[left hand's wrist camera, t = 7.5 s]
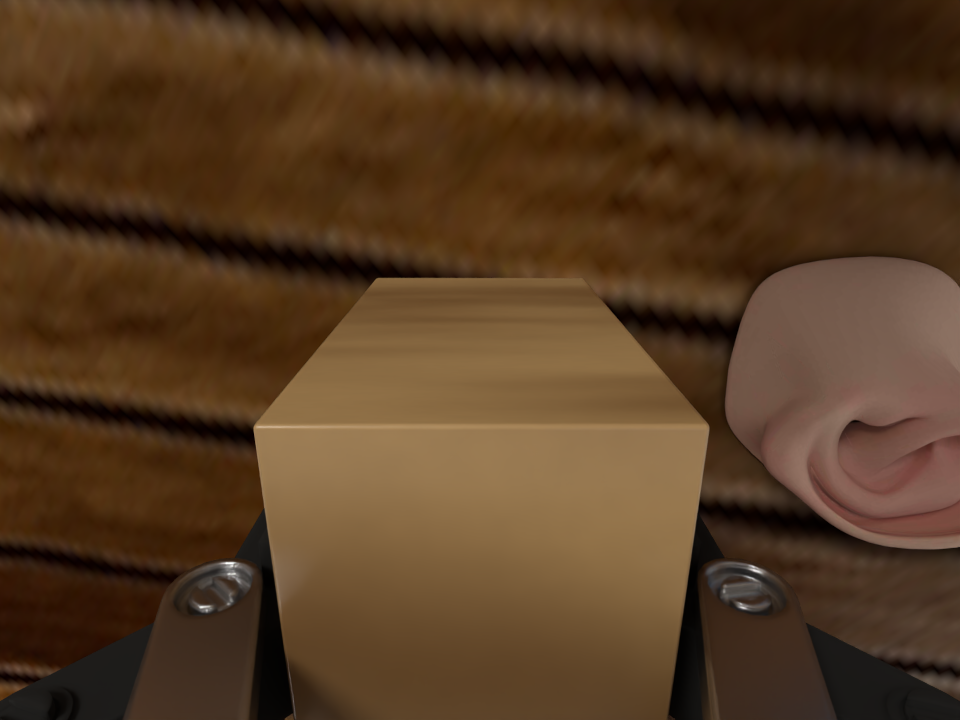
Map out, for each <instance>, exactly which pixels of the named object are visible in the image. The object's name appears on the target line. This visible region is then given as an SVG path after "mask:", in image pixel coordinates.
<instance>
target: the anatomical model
mask: <svg viewBox="0 0 960 720" xmlns="http://www.w3.org/2000/svg"><path fill="white" fill-rule="evenodd" d="M725 412H726V417H727V421H728V424H729V426H730V428H731V430H732V431H733V433H734V434H735V436H736V437H737V438H738V439H739V440H740V442H741V443H742V444H743V445H744V446H745V447H746V448H747V449H748V450H749V451H750V452H751V453H752V454H753V455H754V456H755V457H756V458H758V459H759V460H760V461H761V462H762V463H763V464H764V466H765V468H766V469H767V470H768V472H769V473H770V474H771V475H772V476H773V477H774V478H775V479H776V480H778V481H779V482H780V483H781V484H783V485H784V486H785V487H786V488H788V489H789V490H790V491H791V492H793V493H794V494H795V495H796V496H798V497H799V498H800V499H801V500H802V501H803V502H804V503H806V504H807V505H808V506H809V507H810V508H811V509H812V510H814V511H815V512H816V513H817V514H818V515H820V516H821V517H822V518H823V519H825V520H826V521H827V522H829V523H830V524H832V525H833V526H835V527H836V528H838V529H840V530H841V531H843V532H845V533H847V534H849V535H851V536H854V537H856V538H859V539H861V540H864V541H867V542H870V543H874V544H878V545H883V546H889V547H897V548H907V549H945V548H955V547H960V287H959V286H958V285H957V284H956V282H955V281H954V280H952V279H951V278H950V277H949V276H948V275H946V274H945V273H944V272H942V271H940V270H939V269H937V268H934V267H932V266H930V265H928V264H924V263H921V262H918V261H914V260H907V259H901V258H894V257H872V256H870V257H850V258H838V259H829V260H821V261H815V262H810V263H805V264H800V265H796V266H793V267H789V268H786V269H784V270H781V271H779V272H777V273H775V274H773V275H771V276H770V277H768V278H767V279H766V280H764V281H763V282H762V283H761V284H760V285H759V286H758V287H757V289H756V290H755V292H754V293H753V295H752V297H751V298H750V300H749V302H748V304H747V307H746V310H745V312H744V315H743V317H742V320H741V323H740V327H739V330H738V334H737V337H736V341H735V345H734V348H733V352H732V355H731V359H730V364H729V369H728V378H727V387H726V397H725Z"/></svg>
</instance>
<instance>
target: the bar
mask: <svg viewBox="0 0 960 720" xmlns="http://www.w3.org/2000/svg"><path fill="white" fill-rule="evenodd" d="M254 435H255V442H256V449H257V457H258V464H259V471H260V478H261V485H262V493H263V500H264V507H265V514H266V521H267V529H268V536H269V543H270V550H271V557H272V565H273V572H274V579H275V586H276V593H277V601H278V608H279V615H280V622H281V629H282V637H283V644H284V651H285V658H286V665H287V673H288V680H289V687H290V694H291V701H292V709H293V716H294V720H668V716H669V709H670V702H671V695H672V688H673V681H674V674H675V667H676V660H677V653H678V646H679V639H680V632H681V625H682V618H683V611H684V604H685V597H686V590H687V583H688V575H689V568H690V561H691V554H692V547H693V540H694V533H695V526H696V519H697V512H698V505H699V498H700V491H701V484H702V477H703V470H704V463H705V456H706V449H707V442H708V435H709V425H708V423H707V422H706V421H705V420H704V419H703V418H702V416H701V415H700V414H699V413H698V412H697V411H696V409H695V408H694V407H693V406H692V405H691V404H690V402H689V401H688V400H687V399H686V398H685V397H684V395H683V394H682V393H681V392H680V391H679V390H678V388H677V387H676V386H675V385H674V384H673V383H672V382H671V380H670V379H669V378H668V377H667V376H666V375H665V373H664V372H663V371H662V370H661V369H660V368H659V366H658V365H657V364H656V363H655V362H654V361H653V359H652V358H651V357H650V356H649V355H648V354H647V352H646V351H645V350H644V349H643V348H642V347H641V346H640V344H639V343H638V342H637V341H636V340H635V339H634V337H633V336H632V335H631V334H630V333H629V332H628V330H627V329H626V328H625V327H624V326H623V325H622V323H621V322H620V321H619V320H618V319H617V318H616V316H615V315H614V314H613V313H612V312H611V311H610V309H609V308H608V307H607V306H606V305H605V304H604V303H603V301H602V300H601V299H600V298H599V297H598V296H597V294H596V293H595V292H594V291H593V290H592V289H591V287H590V286H589V285H588V284H587V283H586V282H585V280H584V279H582V278H377V279H376V280H375V281H374V282H373V283H372V285H371V286H370V287H369V288H368V289H367V291H366V292H365V293H364V294H363V295H362V297H361V298H360V299H359V300H358V301H357V303H356V304H355V305H354V306H353V307H352V309H351V310H350V311H349V312H348V313H347V315H346V316H345V317H344V318H343V319H342V321H341V322H340V323H339V324H338V325H337V327H336V328H335V329H334V330H333V331H332V333H331V334H330V335H329V336H328V337H327V339H326V340H325V341H324V342H323V343H322V345H321V346H320V347H319V348H318V349H317V351H316V352H315V353H314V354H313V355H312V357H311V358H310V359H309V360H308V361H307V363H306V364H305V365H304V366H303V367H302V369H301V370H300V371H299V372H298V373H297V375H296V376H295V377H294V378H293V379H292V380H291V382H290V383H289V384H288V385H287V386H286V388H285V389H284V390H283V391H282V392H281V394H280V395H279V396H278V397H277V398H276V400H275V401H274V402H273V403H272V404H271V406H270V407H269V408H268V409H267V410H266V412H265V413H264V414H263V415H262V416H261V418H260V419H259V420H258V421H257V422H256V424H255V425H254Z"/></svg>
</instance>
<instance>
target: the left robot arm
mask: <svg viewBox="0 0 960 720" xmlns="http://www.w3.org/2000/svg"><path fill="white" fill-rule="evenodd" d="M292 713H293V709H292V701H291V694H290V687H289V680H288V673H287V665H286V658H285V651H284V644H283V637H282V629H281V622H280V615H279V608H278V601H277V593H276V586H275V579H274V572H273V565H272V557H271V550H270V543H269V536H268V529H267V521H266V514H265V507H264V509H263V511H262V513H261V514H260V516H259V518H258V519H257V521H256V523H255V524H254V526H253V528H252V529H251V531H250V533H249V535H248V536H247V538H246V540H245V541H244V543H243V545H242V546H241V548H240V550H239V551H238V553H237V555H236V556H235V558H224V559H217V560H213V561H209V562H205V563H203V564H201V565H198V566H196V567H194V568H191V569H190V570H188V571H187V572H185V573H184V574H182V575H181V576H179V577H178V578H177V579H176V580H175V581H174V582H173V583H172V584H171V585H170V586H169V587H168V588H167V590H166V592H165V594H164V596H163V598H162V601H161V604H160V607H159V610H158V613H157V616H156V619H155V622H154V623H152V624H150V625H148V626H146V627H144V628H142V629H140V630H138V631H136V632H134V633H132V634H130V635H128V636H126V637H124V638H122V639H120V640H118V641H116V642H114V643H112V644H110V645H108V646H106V647H104V648H102V649H100V650H99V651H97V652H95V653H93V654H91V655H89V656H87V657H85V658H83V659H81V660H79V661H77V662H75V663H73V664H71V665H69V666H67V667H65V668H63V669H61V670H59V671H57V672H55V673H53V674H51V675H49V676H47V677H45V678H43V679H41V680H39V681H37V682H35V683H33V684H31V685H29V686H27V687H25V688H23V689H21V690H19V691H17V692H15V693H13V694H12V695H10V696H8V697H6V698H5V699H3V700H1V701H0V720H285V718H286V717H287V716H289V715H290V714H292ZM669 715H670V716H672V717H673V718H675V720H960V701H958V700H956V699H955V698H953V697H951V696H950V695H948V694H946V693H945V692H943V691H941V690H939V689H937V688H935V687H933V686H931V685H929V684H927V683H925V682H923V681H921V680H919V679H917V678H915V677H913V676H911V675H909V674H907V673H905V672H903V671H901V670H899V669H897V668H895V667H893V666H891V665H889V664H887V663H885V662H883V661H881V660H879V659H877V658H875V657H873V656H871V655H869V654H867V653H865V652H863V651H861V650H859V649H857V648H855V647H853V646H851V645H849V644H847V643H845V642H843V641H841V640H839V639H837V638H835V637H833V636H831V635H829V634H827V633H825V632H823V631H821V630H819V629H817V628H815V627H813V626H811V625H809V624H807V623H806V622H805V619H804V616H803V613H802V610H801V607H800V604H799V601H798V598H797V596H796V594H795V592H794V590H793V588H792V587H791V586H790V585H789V584H788V583H787V582H786V581H785V580H784V579H783V578H782V577H781V576H779V575H778V574H776V573H775V572H773V571H772V570H770V569H769V568H766V567H764V566H762V565H759V564H757V563H755V562H751V561H747V560H743V559H736V558H724V556H723V554H722V553H721V551H720V549H719V547H718V546H717V544H716V542H715V541H714V539H713V537H712V536H711V534H710V532H709V531H708V529H707V527H706V526H705V524H704V522H703V520H702V519H701V517H700V515H699V514H698V512H697V519H696V526H695V533H694V540H693V547H692V554H691V561H690V568H689V575H688V583H687V590H686V597H685V604H684V611H683V618H682V625H681V632H680V639H679V646H678V653H677V660H676V667H675V674H674V681H673V688H672V695H671V702H670V709H669Z"/></svg>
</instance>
